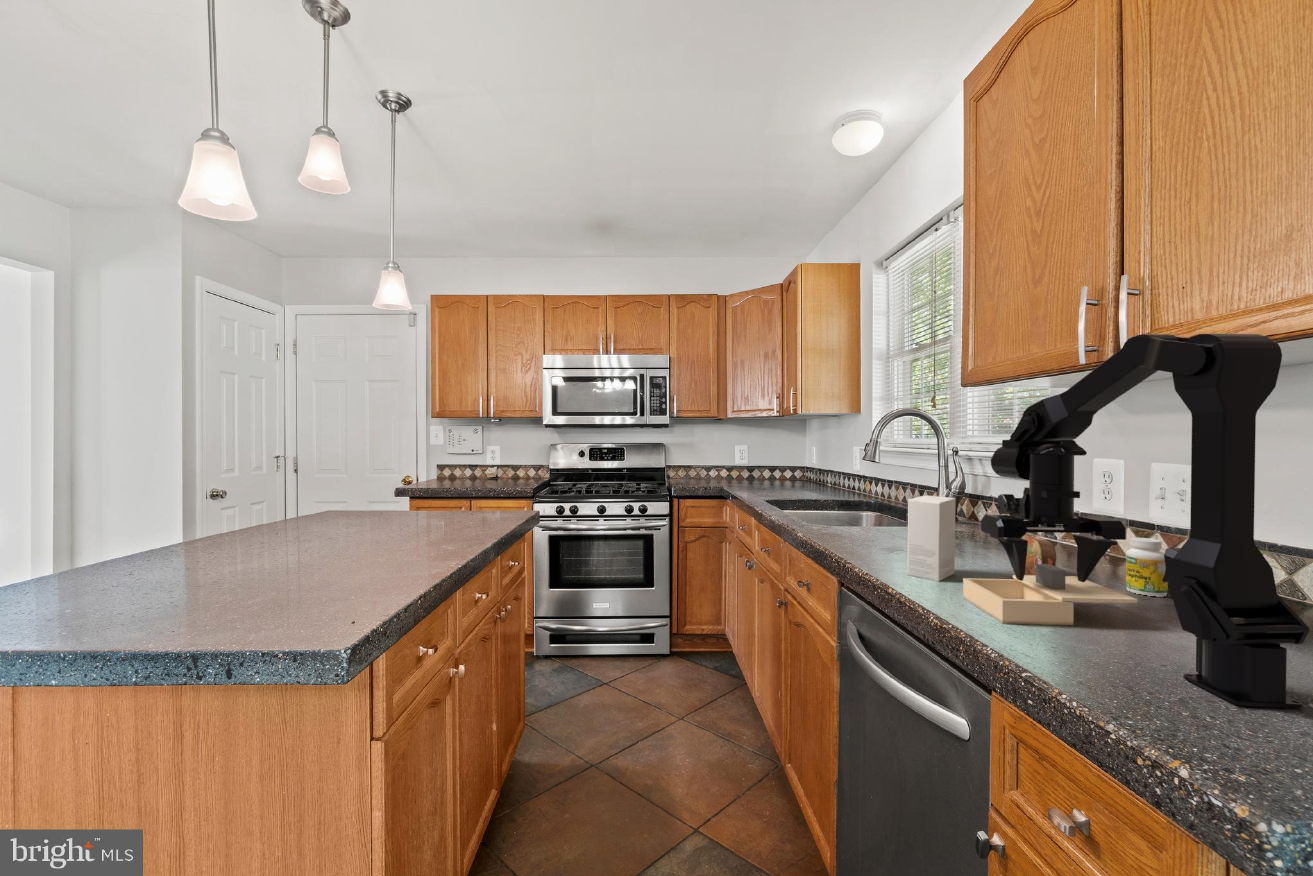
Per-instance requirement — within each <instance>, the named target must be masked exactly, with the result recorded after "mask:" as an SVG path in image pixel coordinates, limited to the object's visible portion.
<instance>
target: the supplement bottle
mask: <svg viewBox="0 0 1313 876" xmlns="http://www.w3.org/2000/svg"><path fill="white" fill-rule="evenodd" d="M1130 545H1131V546H1132V548H1130V549H1127V551H1126V553H1125V558H1126V559H1125V560H1126V561H1125V566H1126V567H1125V570H1126V571H1125V583H1126V584H1125V587H1126V590H1127V591H1128V592H1129V591H1130V592H1129V593H1131V594H1134V593H1136V594H1135V595H1138V594H1142V595H1141V596H1143V595H1147V596H1146V597H1150V596H1156V597H1155V598H1164V596H1165V597H1166V596H1167V595H1168V582H1163V581H1162V579H1163V577H1164V575H1165V569H1166V567H1165V559H1164V553H1165V552H1162V551H1160V550H1162V548H1163V547H1162V540H1160V539H1156V538H1155V539H1154V538H1148V537H1131V538H1130Z"/></svg>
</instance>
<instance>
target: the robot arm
mask: <svg viewBox="0 0 1313 876" xmlns="http://www.w3.org/2000/svg"><path fill="white" fill-rule="evenodd" d="M1282 358H1283V353H1282V348H1281V347H1280V345H1279V343H1278V342H1277V341H1276V342H1275V341H1274V340H1272V339H1271V338H1269V337H1268V336H1265V335H1262V334H1259V333H1258V334H1257V333H1256V334H1255V333H1249V334H1248V333H1199V334H1195V335H1191V336H1190V337H1182V336H1176V335H1174V334H1168V333H1166V334H1165V333H1164V334H1162V333H1160V334H1159V333H1155V334H1154V333H1153V334H1152V333H1150V334H1149V333H1142V334H1137V335H1134V336H1132V337H1130V338H1128V339H1127V340H1126V341H1125V342H1124V343H1123V346H1122V347H1121V348H1120V349H1119V350H1117V351H1116V352H1115V353H1114V354H1112V355H1111V356H1109V357H1108V358H1107V359H1106V360H1104V361H1103V362H1102V363H1101V364H1099V365H1098V366H1097V367H1095V368H1094V369H1092V370H1091V371H1090V372H1088V374H1086V375H1085V376H1084V377H1082V378H1081V379H1079V380H1078V381H1077V382H1075V383H1074V384H1073V385H1072V386H1070V387H1069V388H1068V389H1066V390H1065V391H1062V392H1061V393H1059V394H1056V395H1055V394H1054V395H1053V396H1048V397H1044V398H1043V399H1041V400H1039V401H1037V402H1035V403H1032V404H1031V405H1029V406H1027V408H1026V409H1025V410H1024V411H1023V412H1022V416H1021V418H1020V419H1019V421H1018V423H1017V425H1016V427H1015V429H1014V430H1013V432H1012V433H1011V435H1010V436H1009V437H1010V438H1009V439H1002V442H1001V446H1000V447H999V448H997V449H996V450H995V451H994V453H993V454H992V457H991V458H990V465H991V469H992V471H993V472H994V474H996V475H997V476H999V477H1002V478H1007V479H1016V480H1023V481H1029V483H1028V484H1029V485H1028V486H1029V487H1023V488H1024V489H1023V492H1022V494H1023V495H1022V497H1015V495H1014V494H1013V493H1012V494H1011V493H1002V494H999V495H998V496H997V510H998V513H999V514H985V516H983V518H982V519H981V521H980V531H981V532H983V533H985V534H989V536H990V537H991V538H993V539H995V540H997V541H998V542H999V544H1001V546H1002V547H1003V549H1004V551H1005V553H1006V555H1007V557H1008V560H1009V562H1010V564H1011V569H1012V571H1013V573H1014V575H1016V578H1017V579H1018V580H1020V581H1023V579H1024V575H1025V568H1026V557H1027V547H1028V540H1025V539H1022V537H1023V536H1024V535H1025V534H1028V533H1047V534H1048V533H1055V534H1057V533H1060V534H1072V537H1073V540H1074V541H1075V544H1076V547H1077V548H1076V549H1077V550H1076V576H1077V577H1078V581H1080V582H1085V581H1086V580H1088V579H1089V577H1090V575H1091V574H1092V572H1093V571H1094V569H1095V568H1096V566H1097V565H1098V563H1099V562H1100V560H1101V559H1102V558H1103V557H1104V555H1106V553H1107V552H1108V550H1110V548H1111V547H1112V546H1118V544H1119V543H1118V542H1119V540H1121V541H1122V540H1123V541H1125V540H1127V527H1126V526H1125V524H1124V523H1123V522H1122V521H1121V520H1118V519H1113V518H1110V517H1106V516H1105V517H1104V516H1099V515H1095V516H1093V515H1090V516H1089V515H1078V516H1075V499H1080V498H1081V492H1080V490H1079V491H1077V490H1075V456H1077V457H1078V456H1080V457H1081V456H1086V455H1087V453H1088V452H1087V451H1086V450H1085V449H1084V448H1083V447H1082V446H1080V445H1079V444H1077V442H1076V439H1078V437H1080V436H1081V435H1082V434H1083V433H1085V431H1086V430H1087V429H1088V428H1089V427H1090V426H1091V425H1092V424H1093V420H1094V416H1095V415H1096V414H1097V413H1098V412H1099V411H1100V410H1103V408H1105V407H1106V406H1107V405H1109V404H1111V403H1112V402H1114V401H1116V400H1117V399H1118V398H1120V397H1121V396H1122V395H1124V394H1126V393H1127V392H1128V391H1130V390H1131V389H1134V387H1136V386H1138V385H1139V384H1140V383H1142V382H1143V381H1145V380H1146V379H1148V378H1149V377H1151V376H1152V375H1154V374H1155V373H1157V372H1158V371H1160V372H1167V373H1171V375H1172V380H1173V382H1172V383H1173V386H1174V391H1175V392H1176V394H1177V395H1178V396H1179V398H1180V400H1181V401H1182V402H1183V404H1184V405H1185V406H1186V407H1187V409H1188V410H1189V411H1190V414H1191V448H1190V449H1191V457H1190V459H1191V461H1190V462H1191V464H1190V466H1191V467H1190V521H1189V522H1190V526H1189V531H1190V532H1189V536H1188V538H1187V540H1186V541H1185V542H1184V543H1183V545H1182V546H1181V547H1167V548H1165V551H1164V552H1163V553H1164V559H1165V567H1166V569H1165V575H1164V577H1163V579H1162V581H1163V582H1167V593H1168V595H1169V597H1170V599H1171V601H1172V602H1173V606H1174V607H1175V611H1176V614H1177V617H1178V620H1179V623H1180V626H1181V629H1182V630H1183V631H1185V632H1186V633H1187V632H1188V633H1190V634H1193V636H1195V639H1196V640H1195V642H1196V643H1195V672H1196V673H1183V676H1182V677H1183V679H1184V680H1186V681H1188V682H1190V683H1192V684H1194V685H1196V686H1198V687H1200V688H1202V689H1204V690H1206V691H1208V692H1210V693H1212V694H1214V695H1215V696H1218V697H1219V698H1221V699H1223V700H1225V701H1228V702H1229V703H1231V704H1233V705H1235V706H1239V707H1240V706H1241V707H1242V706H1243V707H1258V708H1259V707H1260V708H1261V707H1264V708H1285V709H1303V707H1304V704H1303V702H1301V701H1300V700H1299V701H1298V700H1296V699H1294V698H1292V697H1290V696H1289V695H1288V696H1287V663H1288V662H1287V656H1288V655H1287V654H1288V653H1287V652H1288V649H1287V648H1286V647H1285V646H1283V647H1282V646H1281V645H1283V644H1285V645H1286V644H1291V645H1292V644H1293V645H1302V644H1303V643H1304V642H1305V640H1306V638H1307V637H1308V634H1309V633H1310V630H1311V629H1310V627H1309V626H1308V625H1307V624H1306V622H1304V621H1303V620H1302V619H1301V617H1300V616H1299V615H1298V614H1297V613H1296V612H1295V611H1294V610H1293V609H1292V608H1291V607H1290V606H1289V605H1288V604H1287V603H1286V601H1285V600H1284V599H1283V598H1282V597H1281V596H1280V595H1279V594H1278V591H1277V585H1276V581H1275V575H1274V569H1273V567H1272V565H1271V564H1270V562H1268V560H1267V559H1266V557H1265V556H1264V554H1263V553H1262V552H1261V550H1260V549H1259V548H1258V546H1257V544H1256V543H1255V491H1256V490H1255V488H1256V487H1255V484H1256V481H1255V480H1256V432H1257V431H1256V425H1257V424H1256V423H1257V421H1256V420H1257V414H1258V413H1257V412H1258V411H1259V409H1260V408H1261V406H1262V405H1263V404H1264V403H1265V401H1266V400H1267V399H1268V397H1269V396H1270V395H1271V393H1273V391H1274V389H1276V385H1277V382H1278V378H1279V372H1280V370H1281V369H1280V368H1281V364H1282V360H1283V359H1282ZM1232 619H1233V620H1236V619H1237V620H1239V619H1241V620H1242V619H1243V621H1244V622H1241V623H1240V622H1239V623H1238V622H1237V623H1234V621H1233V620H1232Z"/></svg>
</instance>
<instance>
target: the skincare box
mask: <svg viewBox="0 0 1313 876" xmlns="http://www.w3.org/2000/svg"><path fill="white" fill-rule="evenodd" d="M955 542H956V498H955V497H947V496H946V497H945V496H938V495H937V496H936V495H926V494H925V495H921V496H917V497H913V498H909V499H907V551H906V552H907V554H906V557H907V558H906V561H907V562H906V565H907V566H906V575H907V576H910V577H914V578H920V579H925V580H928V581H929V580H930V581H934V582H938V583H939V582H941V581H942V580H945V579H947V578H949V577H951V576H953V575H954V574H955V555H956V553H955V552H956V550H955V549H956V544H955Z"/></svg>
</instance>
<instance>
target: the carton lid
mask: <svg viewBox="0 0 1313 876" xmlns="http://www.w3.org/2000/svg"><path fill="white" fill-rule="evenodd" d="M1012 579H1016V580H1018V579H1017V578H1016V575H1015V574H1012ZM1018 581H1020V580H1018ZM1020 582H1023V583H1025V584H1027V585H1029V586H1031V587H1033V588H1035V589H1037V590H1040V591H1042V592H1044V593H1046V594H1048V595H1050V596H1052V597H1054V598H1057V599H1059V600H1061V601H1072V602H1082V603H1083V602H1084V603H1085V602H1087V603H1095V602H1096V603H1123V604H1125V603H1128V604H1131V603H1132V604H1138V599H1137V598H1134V597H1132V596H1129V595H1127V594H1124V593H1122V592H1119V591H1117V590H1113V589H1111V588H1108V587H1106V586H1103V585H1101V584H1098V583H1095V582H1093V581H1090V580H1088V579H1087V580H1086V581H1085V582H1080V581H1078V577H1077V575H1076V576H1075V575H1066V570H1065V569H1063V568H1060V567H1057V566H1052V565H1050V564H1036V575H1024V579H1023V581H1020Z"/></svg>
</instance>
